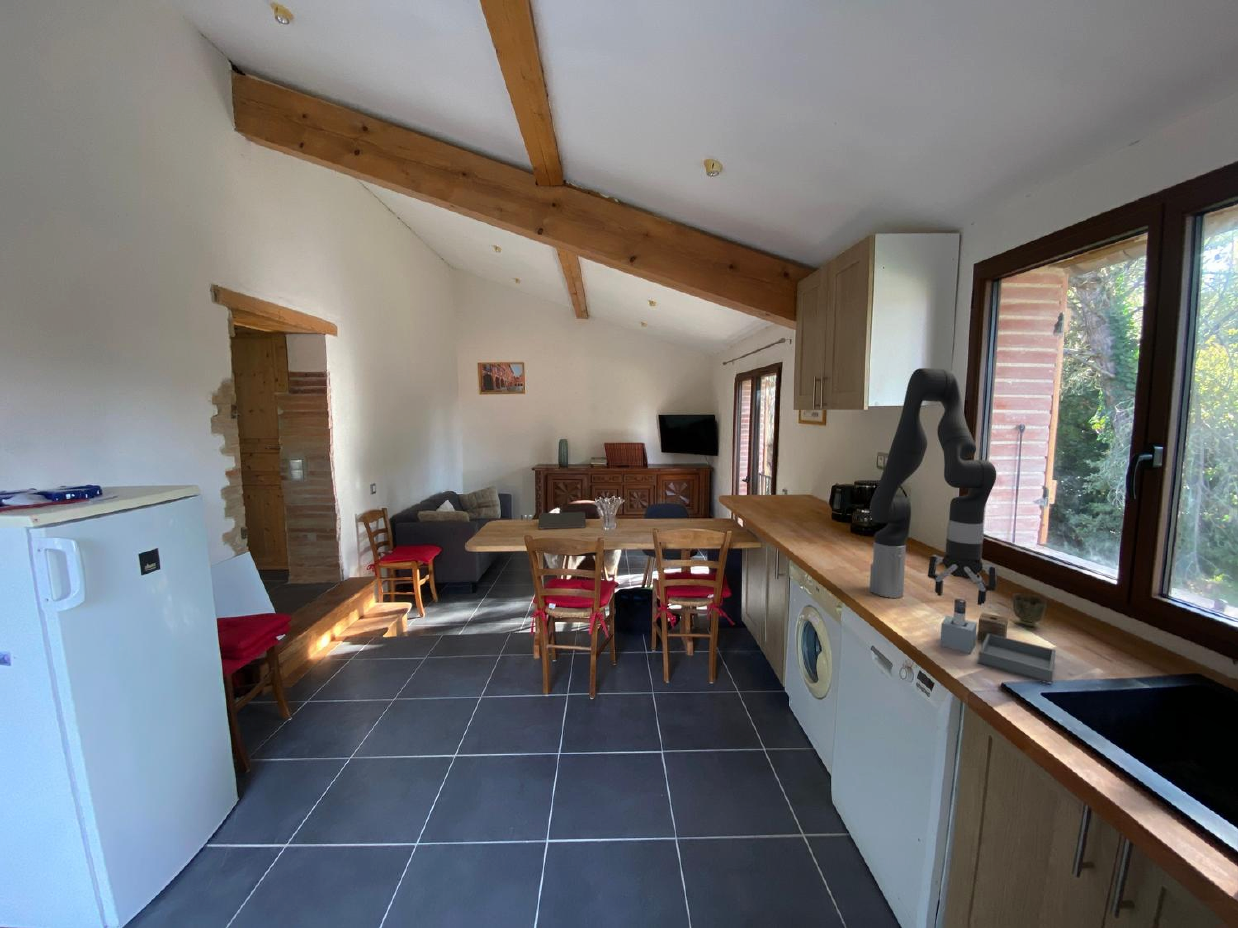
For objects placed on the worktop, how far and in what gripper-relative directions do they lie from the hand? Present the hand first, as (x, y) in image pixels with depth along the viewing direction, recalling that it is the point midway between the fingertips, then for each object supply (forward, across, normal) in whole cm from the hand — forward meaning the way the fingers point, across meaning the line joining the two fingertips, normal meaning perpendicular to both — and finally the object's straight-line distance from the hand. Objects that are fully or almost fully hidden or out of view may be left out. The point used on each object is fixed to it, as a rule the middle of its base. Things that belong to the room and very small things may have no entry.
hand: (959, 599), depth 125 cm
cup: (+13, +12, +27) cm, 32 cm away
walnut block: (+12, +6, +9) cm, 17 cm away
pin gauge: (+12, 0, 0) cm, 12 cm away
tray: (+12, +12, -1) cm, 17 cm away
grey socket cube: (+12, 0, 0) cm, 12 cm away
